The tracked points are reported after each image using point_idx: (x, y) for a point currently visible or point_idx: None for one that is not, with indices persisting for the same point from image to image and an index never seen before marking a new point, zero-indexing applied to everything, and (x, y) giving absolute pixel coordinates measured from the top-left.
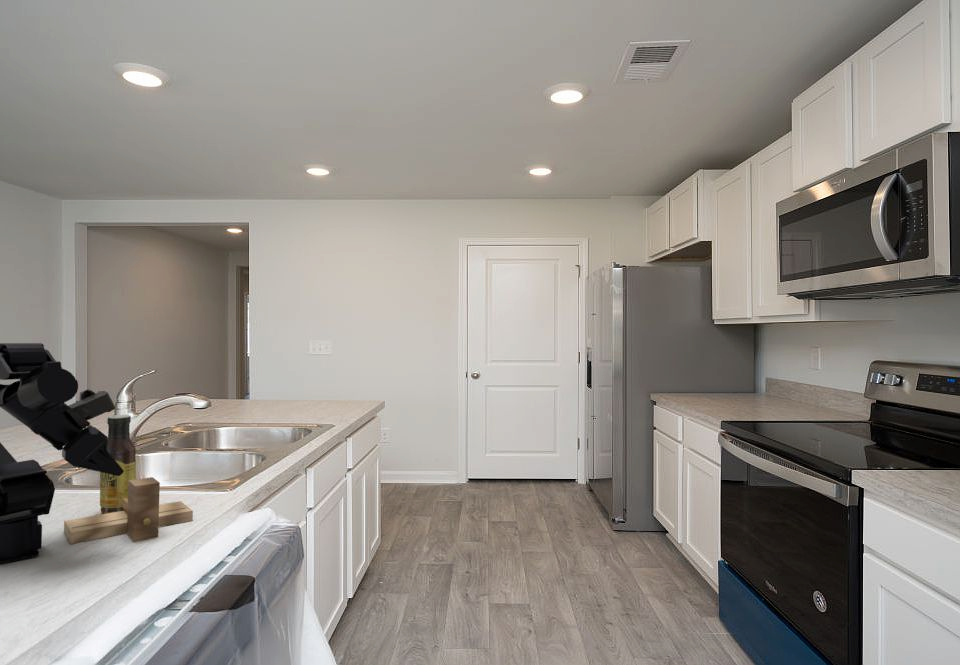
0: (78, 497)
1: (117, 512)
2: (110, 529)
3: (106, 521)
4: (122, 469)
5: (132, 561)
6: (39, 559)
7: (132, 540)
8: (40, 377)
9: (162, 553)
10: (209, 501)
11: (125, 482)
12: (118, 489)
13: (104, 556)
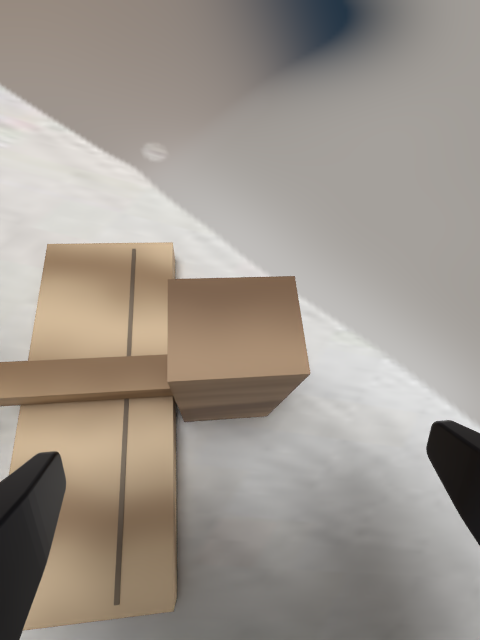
0: None
1: (26, 428)
2: (174, 468)
3: (115, 475)
4: (467, 428)
5: (420, 440)
6: None
7: (256, 416)
8: None
9: (392, 369)
10: (27, 187)
11: None
12: None
13: (351, 503)
